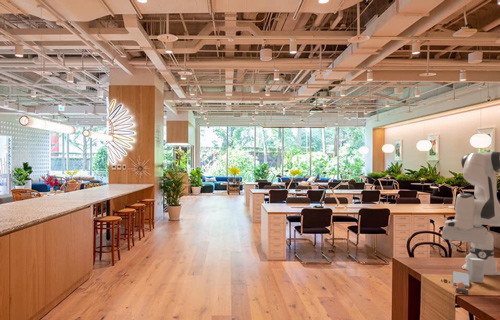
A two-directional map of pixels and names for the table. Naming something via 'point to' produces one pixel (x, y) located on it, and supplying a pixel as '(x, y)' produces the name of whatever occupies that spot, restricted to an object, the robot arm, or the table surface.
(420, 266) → the table surface
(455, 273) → the ramp
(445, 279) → the stand
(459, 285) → the ball
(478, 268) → the skincare box
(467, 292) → the rail
